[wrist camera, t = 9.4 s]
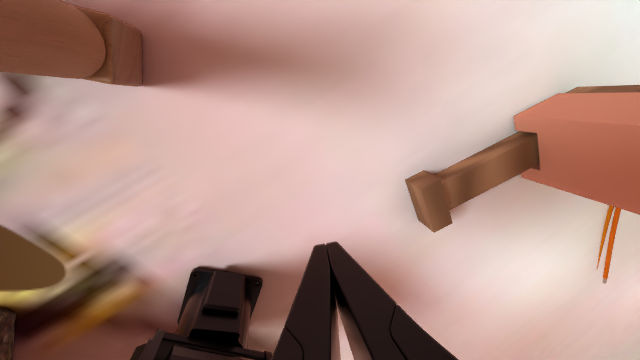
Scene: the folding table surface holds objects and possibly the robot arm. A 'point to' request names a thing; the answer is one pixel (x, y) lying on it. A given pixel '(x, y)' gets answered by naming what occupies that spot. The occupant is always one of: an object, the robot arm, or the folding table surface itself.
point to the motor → (611, 238)
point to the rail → (480, 171)
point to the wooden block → (68, 42)
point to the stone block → (6, 333)
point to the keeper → (588, 145)
